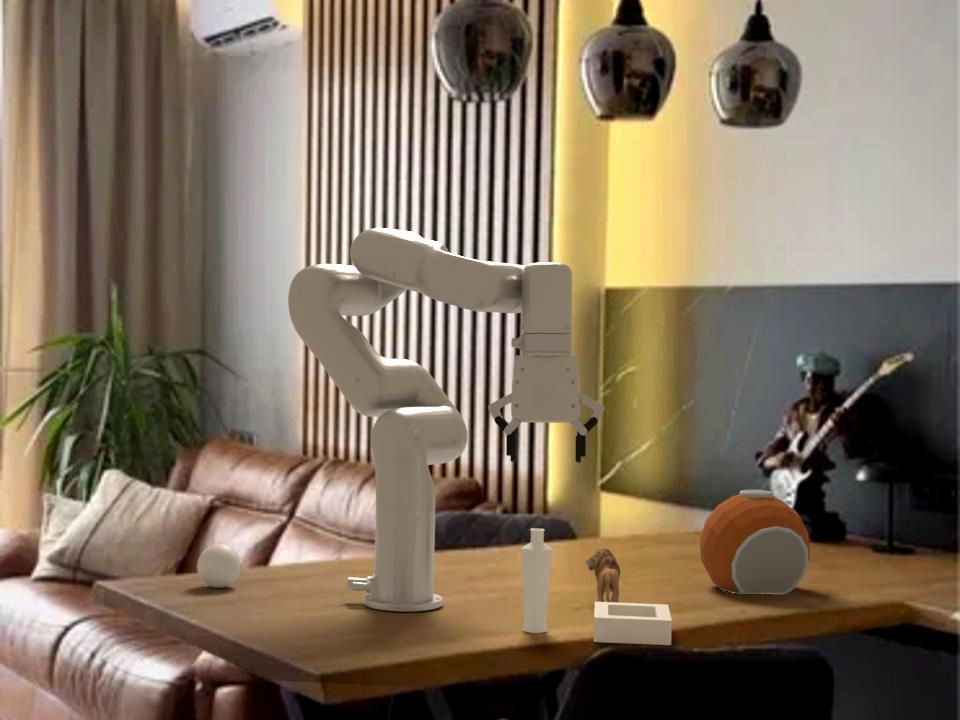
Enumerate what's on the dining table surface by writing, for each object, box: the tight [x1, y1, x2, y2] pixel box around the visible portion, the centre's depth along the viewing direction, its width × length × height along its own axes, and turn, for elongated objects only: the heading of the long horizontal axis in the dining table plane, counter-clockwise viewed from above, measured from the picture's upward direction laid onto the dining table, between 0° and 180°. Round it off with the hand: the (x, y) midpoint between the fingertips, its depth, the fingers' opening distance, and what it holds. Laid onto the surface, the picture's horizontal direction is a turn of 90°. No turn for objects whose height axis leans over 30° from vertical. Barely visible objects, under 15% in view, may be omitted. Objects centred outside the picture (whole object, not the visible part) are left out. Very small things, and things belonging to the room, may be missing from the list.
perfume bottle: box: [520, 527, 553, 634], centre depth 206 cm, size 5×4×15 cm
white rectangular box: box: [593, 601, 673, 646], centre depth 204 cm, size 11×12×4 cm
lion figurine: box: [585, 547, 621, 603], centre depth 224 cm, size 15×5×9 cm, turn 6°
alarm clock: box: [699, 489, 811, 595], centre depth 244 cm, size 19×18×17 cm
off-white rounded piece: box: [196, 543, 243, 589], centre depth 235 cm, size 10×7×7 cm
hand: (546, 461), depth 207 cm, fingers open, 9 cm apart
